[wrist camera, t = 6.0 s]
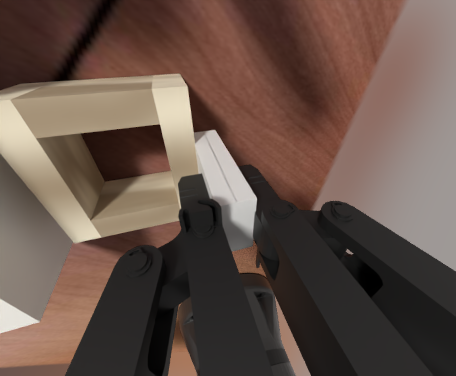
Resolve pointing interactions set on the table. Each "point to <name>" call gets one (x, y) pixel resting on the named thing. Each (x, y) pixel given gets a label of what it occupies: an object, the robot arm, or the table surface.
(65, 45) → the table surface
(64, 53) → the table surface
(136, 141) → the table surface
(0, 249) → the wall
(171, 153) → the hole block
